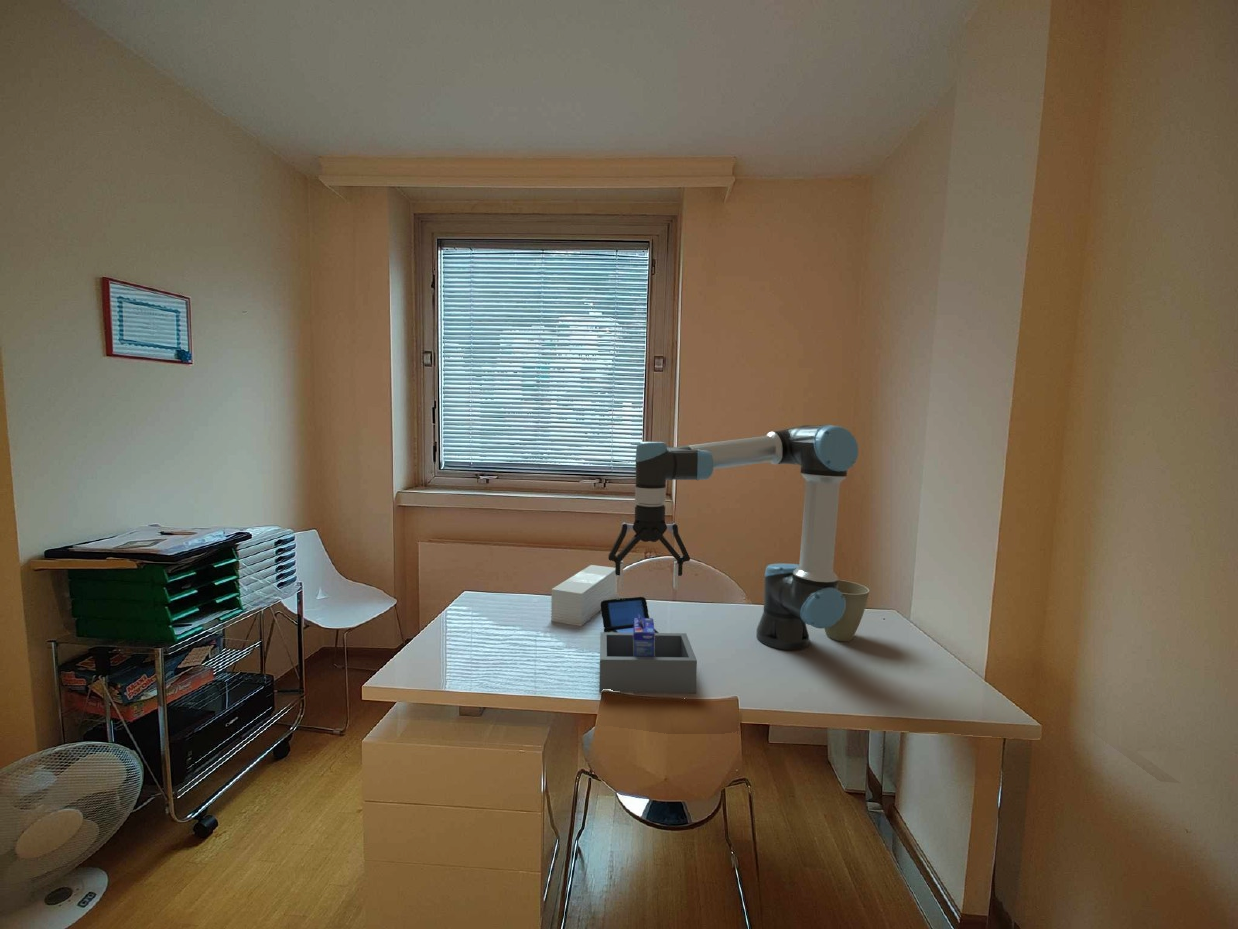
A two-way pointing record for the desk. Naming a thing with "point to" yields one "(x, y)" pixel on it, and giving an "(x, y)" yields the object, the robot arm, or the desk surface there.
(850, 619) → the plant pot
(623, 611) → the handheld game console
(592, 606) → the stack of papers
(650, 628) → the ink cartridge box
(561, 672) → the desk surface
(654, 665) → the collection bin
